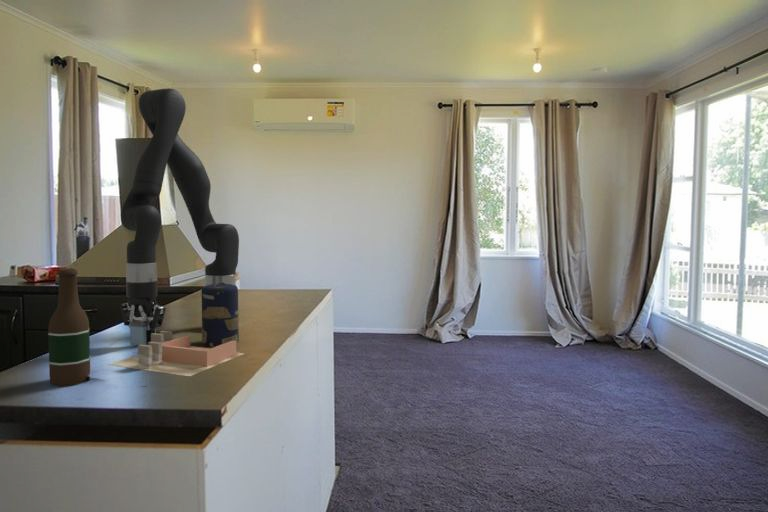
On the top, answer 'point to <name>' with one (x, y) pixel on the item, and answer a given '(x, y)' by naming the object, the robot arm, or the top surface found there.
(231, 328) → the canister
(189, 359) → the tray
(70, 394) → the top surface
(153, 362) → the board
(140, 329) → the grey block
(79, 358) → the beer bottle
